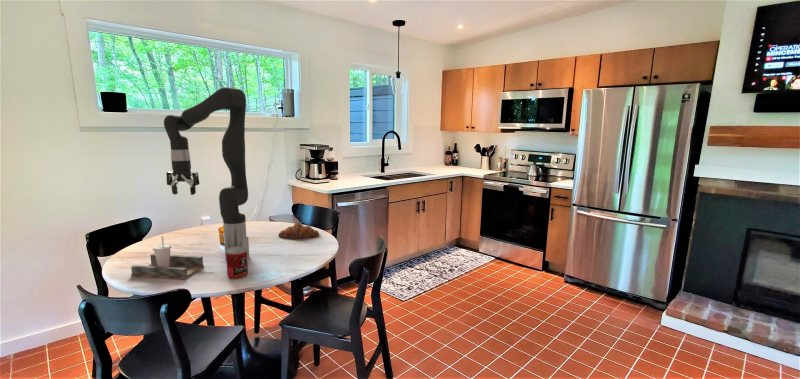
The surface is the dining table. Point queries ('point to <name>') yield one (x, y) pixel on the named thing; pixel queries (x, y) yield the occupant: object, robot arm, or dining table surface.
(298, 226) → the pastry
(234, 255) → the canned food
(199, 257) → the door track
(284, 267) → the dining table surface
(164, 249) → the smoothie
